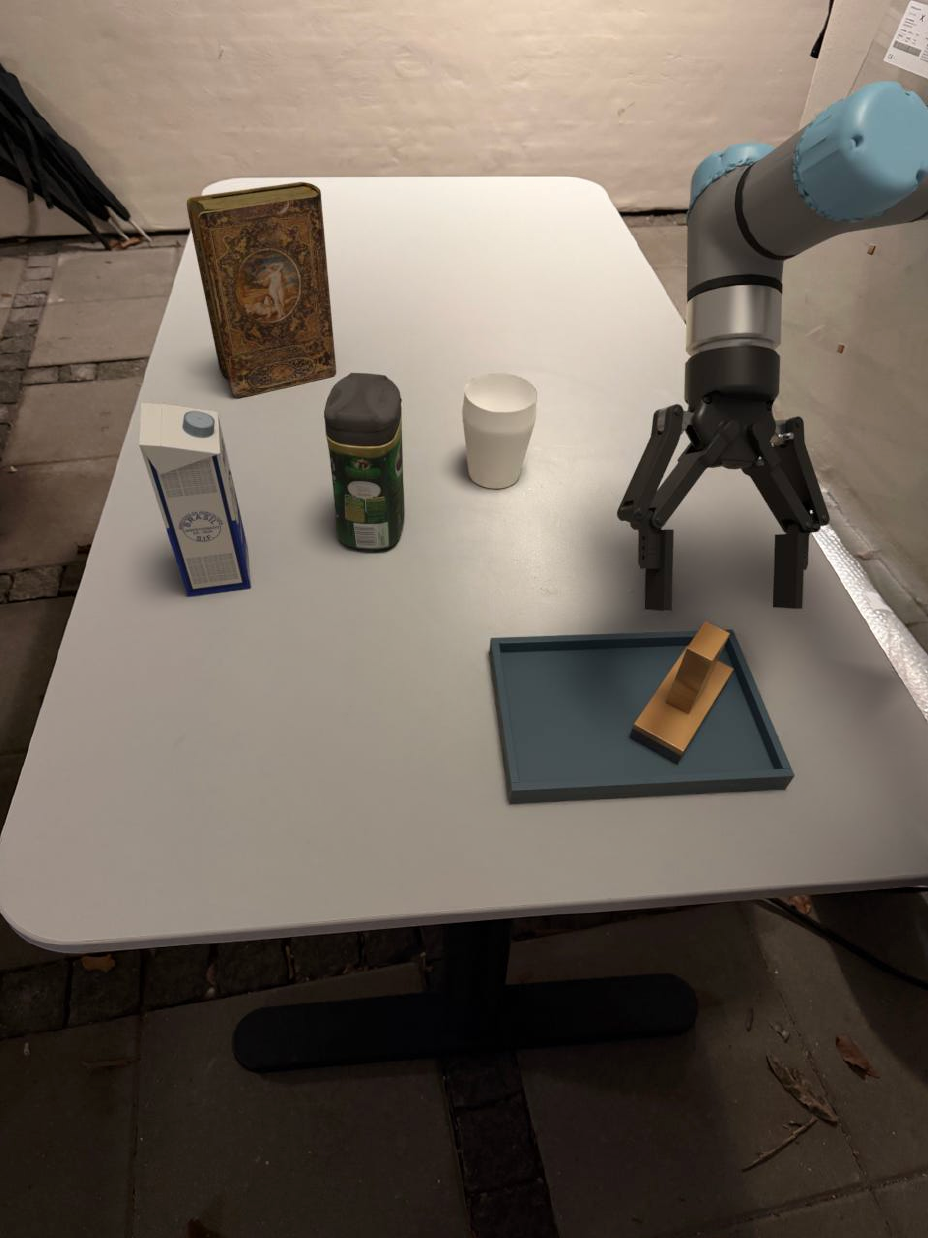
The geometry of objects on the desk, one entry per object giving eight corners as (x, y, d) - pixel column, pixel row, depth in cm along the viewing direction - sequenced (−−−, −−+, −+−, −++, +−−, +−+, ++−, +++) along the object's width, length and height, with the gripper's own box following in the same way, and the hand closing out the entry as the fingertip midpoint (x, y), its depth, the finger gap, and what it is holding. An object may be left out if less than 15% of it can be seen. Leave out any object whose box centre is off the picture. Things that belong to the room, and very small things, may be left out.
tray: (786, 789, 71) (795, 775, 69) (509, 804, 69) (511, 790, 67) (726, 643, 83) (733, 629, 81) (489, 652, 81) (490, 637, 79)
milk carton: (187, 554, 88) (140, 399, 74) (247, 546, 90) (213, 393, 75) (187, 597, 84) (138, 443, 69) (251, 589, 85) (215, 435, 70)
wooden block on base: (727, 682, 78) (760, 613, 70) (677, 765, 71) (708, 698, 64) (681, 659, 80) (709, 589, 72) (628, 737, 73) (653, 669, 65)
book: (327, 357, 119) (310, 180, 101) (341, 374, 116) (326, 194, 97) (222, 381, 113) (183, 197, 95) (233, 399, 110) (196, 213, 92)
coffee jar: (345, 499, 96) (332, 362, 83) (408, 503, 96) (406, 367, 82) (330, 551, 90) (314, 412, 76) (398, 556, 90) (394, 418, 76)
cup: (538, 465, 103) (549, 384, 94) (512, 503, 97) (522, 421, 88) (476, 446, 105) (481, 365, 96) (447, 482, 99) (450, 400, 91)
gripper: (811, 378, 72) (803, 605, 74) (577, 349, 63) (574, 608, 65) (880, 358, 65) (871, 609, 67) (629, 322, 56) (623, 613, 58)
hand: (724, 609), depth 66 cm, fingers open, 13 cm apart
